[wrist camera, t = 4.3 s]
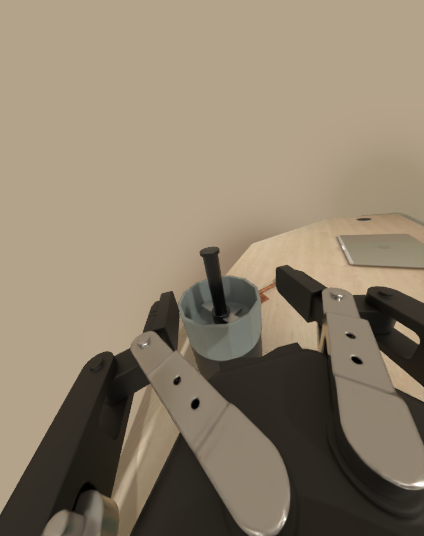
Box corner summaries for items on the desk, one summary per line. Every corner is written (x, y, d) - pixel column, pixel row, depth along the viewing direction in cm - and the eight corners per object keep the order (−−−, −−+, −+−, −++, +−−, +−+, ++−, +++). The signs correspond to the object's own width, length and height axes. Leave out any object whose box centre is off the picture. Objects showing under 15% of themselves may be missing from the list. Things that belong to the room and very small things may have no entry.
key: (258, 305, 45) (294, 286, 50) (258, 303, 44) (294, 283, 50) (245, 295, 49) (279, 278, 55) (245, 292, 49) (279, 275, 54)
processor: (213, 411, 25) (191, 343, 18) (191, 347, 36) (172, 291, 29) (277, 370, 29) (279, 302, 22) (239, 324, 40) (232, 269, 33)
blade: (224, 356, 22) (206, 270, 16) (188, 326, 29) (166, 256, 23) (258, 319, 27) (254, 243, 21) (222, 300, 34) (210, 238, 28)
